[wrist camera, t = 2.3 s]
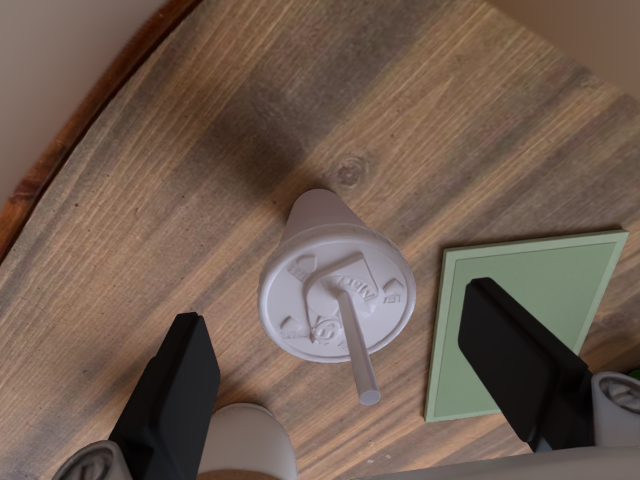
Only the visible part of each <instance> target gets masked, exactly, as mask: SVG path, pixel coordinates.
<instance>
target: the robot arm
mask: <svg viewBox="0 0 640 480" xmlns="http://www.w3.org/2000/svg"><path fill="white" fill-rule="evenodd" d="M458 346H459V349H460V351H461V352H462V354H463V355H464V357H465V358H466V360H467V361H468V363H469V364H470V366H471V367H472V369H473V370H474V372H475V373H476V375H477V376H478V378H479V379H480V381H481V382H482V383H483V385H484V386H485V388H486V389H487V391H488V392H489V394H490V395H491V397H492V398H493V400H494V401H495V403H496V404H497V406H498V407H499V409H500V410H501V412H502V413H503V415H504V416H505V418H506V419H507V421H508V422H509V424H510V425H511V427H512V428H513V430H514V431H515V433H516V434H517V436H518V437H519V438H520V439H521V440H522V441H523V442H527V443H528V445H529V446H530V448H531V449H532V451H533V452H534V453H529V454H522V455H515V456H508V457H501V458H494V459H487V460H480V461H473V462H466V463H459V464H452V465H445V466H438V467H431V468H425V469H418V470H411V471H404V472H398V473H391V474H384V475H377V476H371V477H364V478H357V479H351V480H640V381H638V380H637V379H634V378H632V377H629V376H627V375H624V374H620V373H616V372H607V371H603V372H599V373H596V374H595V375H593V374H592V373H591V372H590V371H589V370H588V369H587V368H588V365H587V364H586V363H585V362H584V361H583V360H581V359H580V358H579V357H578V356H577V355H576V354H575V353H574V352H573V351H572V350H570V349H569V348H568V347H567V346H566V345H565V344H564V343H563V342H562V341H560V340H559V339H558V338H557V337H556V336H555V335H554V334H553V333H552V332H551V331H549V330H548V329H547V328H546V327H545V326H544V325H543V324H542V323H541V322H539V321H538V320H537V319H536V318H535V317H534V316H533V315H532V314H531V313H529V312H528V311H527V310H526V309H525V308H524V307H523V306H522V305H521V304H520V303H518V302H517V301H516V300H515V299H514V298H513V297H512V296H511V295H510V294H508V293H507V292H506V291H505V290H504V289H503V288H502V287H501V286H500V285H499V284H497V283H496V282H495V281H494V280H493V279H492V278H490V277H483V278H475V279H472V280H471V281H470V283H468V284H467V285H466V288H465V295H464V301H463V308H462V314H461V320H460V327H459V333H458ZM219 384H220V369H219V366H218V363H217V360H216V356H215V353H214V350H213V347H212V343H211V340H210V337H209V334H208V331H207V327H206V324H205V321H204V318H203V316H198V314H197V313H196V312H190V313H182V314H178V315H177V316H176V317H175V319H174V321H173V323H172V325H171V327H170V329H169V331H168V333H167V335H166V337H165V339H164V341H163V343H162V345H161V347H160V349H159V350H158V352H157V354H156V356H155V357H153V358H152V359H151V360H150V361H149V363H148V364H147V366H146V368H145V370H144V372H143V374H142V376H141V377H140V379H139V381H138V383H137V385H136V387H135V389H134V391H133V393H132V395H131V396H130V398H129V400H128V402H127V404H126V406H125V408H124V410H123V412H122V413H121V415H120V417H119V419H118V421H117V423H116V425H115V427H114V429H113V430H112V432H111V434H110V436H109V438H108V440H100V441H97V442H94V443H91V444H89V445H87V446H85V447H84V448H82V449H80V450H79V451H77V452H76V453H75V454H73V455H72V456H71V457H69V458H68V459H67V460H66V461H65V463H64V464H63V465H62V466H61V467H60V468H59V469H58V471H57V472H56V473H55V475H54V476H53V478H52V479H51V480H196V478H197V474H198V470H199V466H200V462H201V458H202V454H203V450H204V445H205V441H206V437H207V433H208V429H209V425H210V421H211V417H212V412H213V408H214V404H215V400H216V396H217V392H218V388H219Z"/></svg>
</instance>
